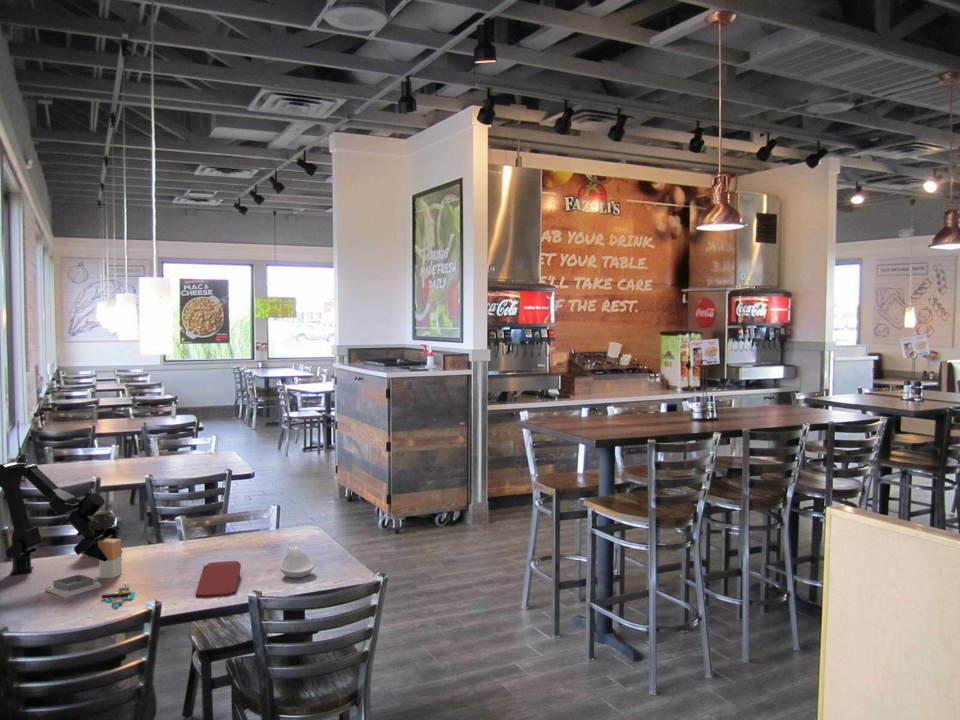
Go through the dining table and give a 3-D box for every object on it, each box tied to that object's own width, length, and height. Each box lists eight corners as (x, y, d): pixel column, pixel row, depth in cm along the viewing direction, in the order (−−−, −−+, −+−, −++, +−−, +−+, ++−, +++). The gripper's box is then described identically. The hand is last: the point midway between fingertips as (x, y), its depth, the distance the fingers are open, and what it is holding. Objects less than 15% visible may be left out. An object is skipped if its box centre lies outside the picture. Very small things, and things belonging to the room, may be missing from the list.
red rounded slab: (235, 606, 241) (242, 570, 266) (235, 592, 240) (241, 557, 265) (195, 609, 238) (205, 573, 263) (195, 595, 238) (205, 560, 262)
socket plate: (45, 590, 244) (45, 581, 244) (81, 580, 254) (80, 571, 254) (65, 597, 238) (65, 588, 238) (101, 586, 248) (101, 577, 248)
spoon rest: (316, 579, 257) (316, 558, 257) (281, 583, 253) (281, 562, 253) (306, 559, 279) (306, 541, 279) (274, 563, 275) (274, 544, 275)
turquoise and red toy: (96, 612, 227) (129, 609, 230) (95, 595, 227) (129, 592, 229) (107, 590, 246) (138, 587, 249) (107, 574, 246) (138, 572, 248)
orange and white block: (99, 577, 257) (98, 542, 257) (108, 573, 262) (107, 538, 262) (112, 578, 257) (112, 543, 256) (121, 573, 262) (121, 539, 261)
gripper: (81, 515, 250) (112, 549, 249) (115, 503, 268) (144, 534, 267) (60, 538, 251) (91, 571, 250) (95, 523, 270) (124, 554, 269)
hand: (113, 556), depth 259 cm, fingers open, 8 cm apart
